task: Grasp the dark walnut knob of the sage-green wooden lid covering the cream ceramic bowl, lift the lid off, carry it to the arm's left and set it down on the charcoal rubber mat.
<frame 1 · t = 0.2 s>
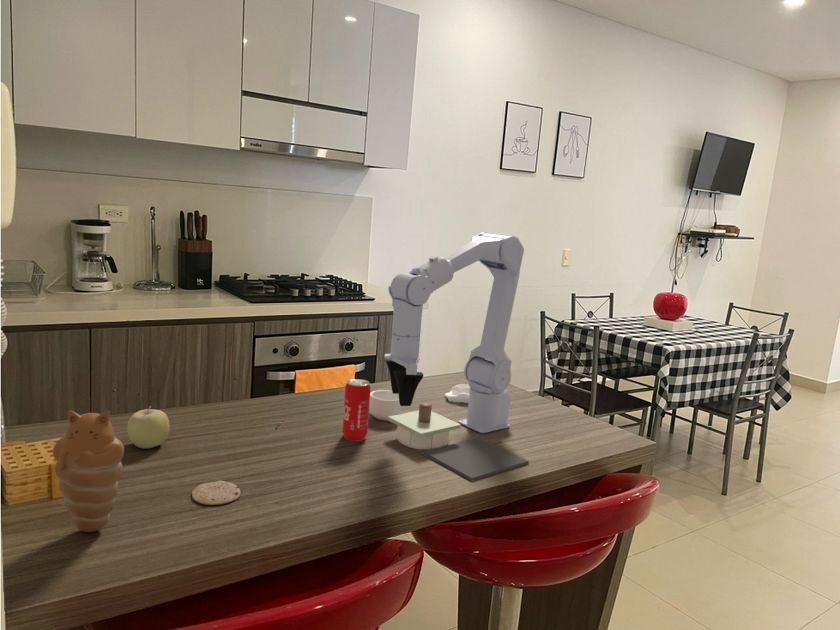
hand: (401, 399, 128), 10 cm above the breakfast bar, tool pointing down, fingers open, 7 cm apart
bowl: (422, 439, 134), on the breakfast bar
teacup: (381, 417, 147), on the breakfast bar
fruit: (148, 446, 120), on the breakfast bar
beverage can: (354, 438, 133), on the breakfast bar
lid: (423, 424, 134), point 3 cm above the breakfast bar, touching bowl
flatbread: (216, 496, 103), on the breakfast bar
mat: (475, 458, 127), on the breakfast bar
white rounded piece: (462, 400, 165), on the breakfast bar
cat ice cream: (91, 532, 90), on the breakfast bar
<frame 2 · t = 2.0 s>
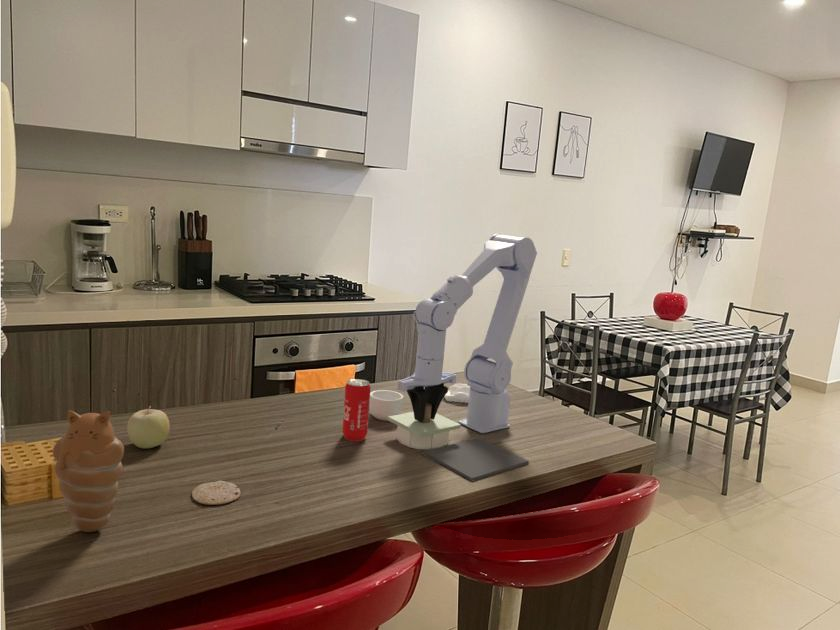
hand: (424, 419, 134), 5 cm above the breakfast bar, tool pointing down, fingers closed on lid, 3 cm apart
lid: (423, 424, 134), point 3 cm above the breakfast bar, touching bowl, gripper
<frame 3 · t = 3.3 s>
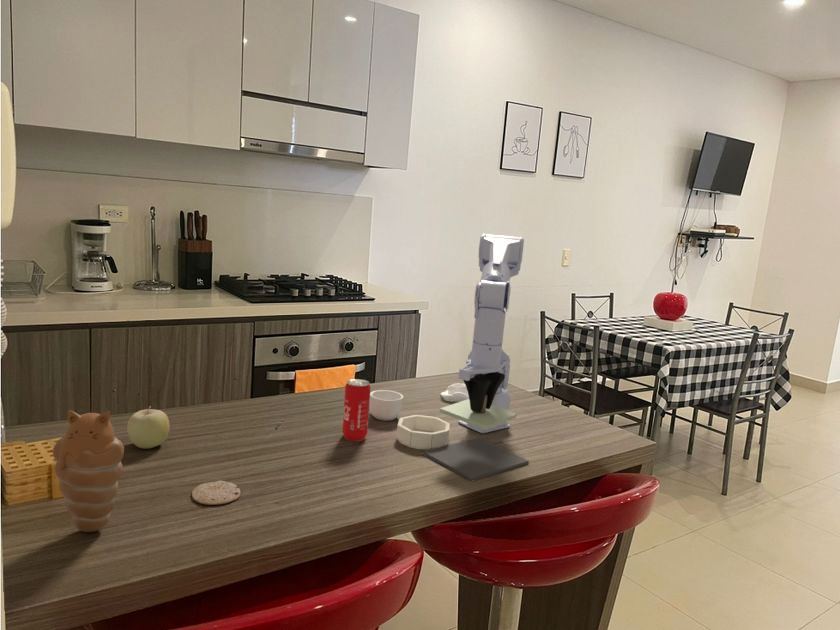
hand: (480, 409, 125), 10 cm above the breakfast bar, tool pointing down, fingers closed on lid, 3 cm apart
lid: (478, 415, 125), point 9 cm above the breakfast bar, touching gripper
when the fingers open (3 cm above the breakfast bar, at t = 4.9 s): lid drops 1 cm, resting on mat.
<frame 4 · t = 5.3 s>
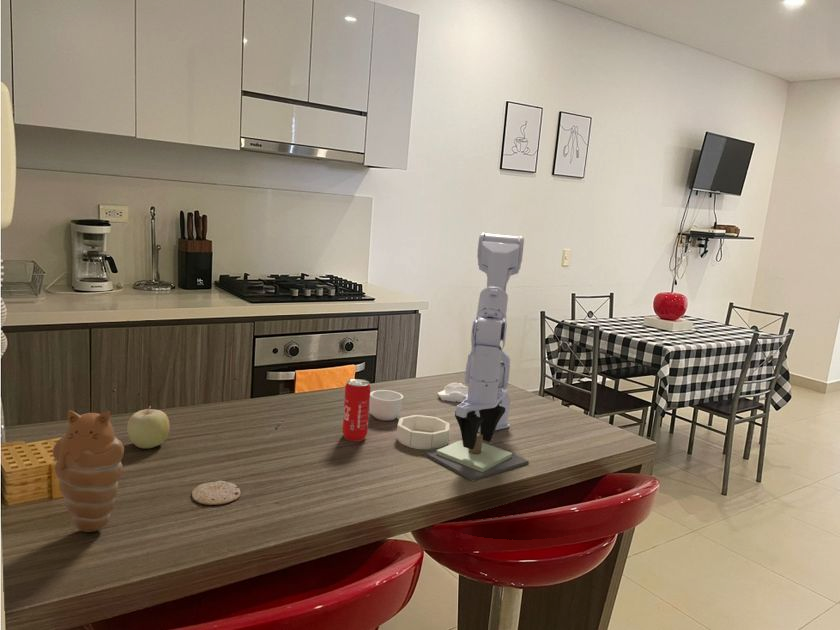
hand: (477, 443, 126), 3 cm above the breakfast bar, tool pointing down, fingers open, 6 cm apart
lid: (474, 455, 127), point 1 cm above the breakfast bar, touching mat
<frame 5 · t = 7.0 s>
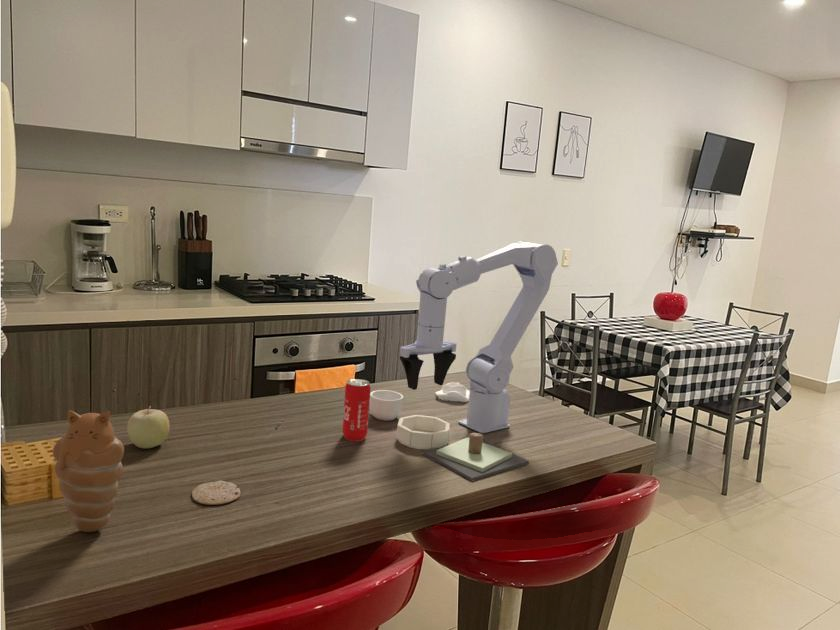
hand: (425, 386, 137), 10 cm above the breakfast bar, tool pointing down, fingers open, 7 cm apart
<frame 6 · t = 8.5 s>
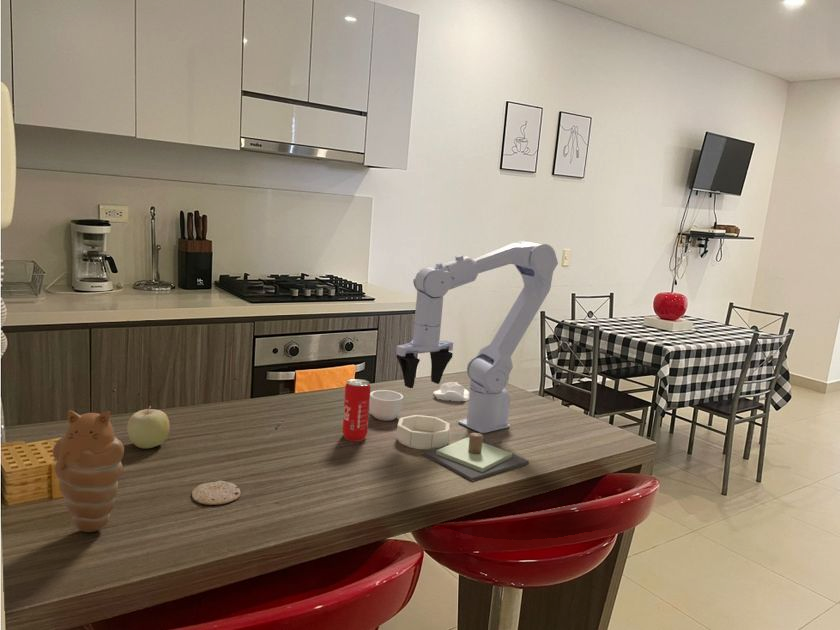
hand: (422, 384, 138), 10 cm above the breakfast bar, tool pointing down, fingers open, 7 cm apart
at the end: lid inside the target area on the mat (0.4 cm from its centre), point 0.6 cm above the mat's base; lid touching mat; the gripper is holding nothing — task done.
